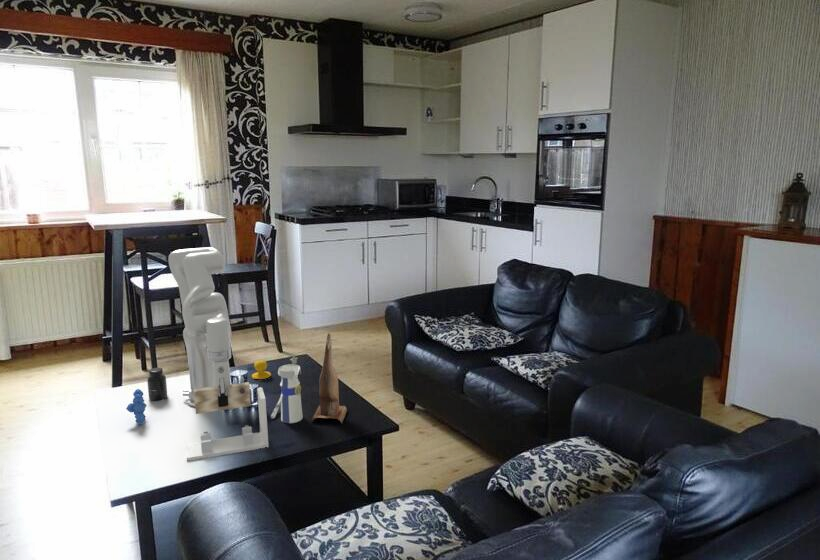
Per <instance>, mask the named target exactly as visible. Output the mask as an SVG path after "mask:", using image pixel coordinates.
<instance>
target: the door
mask: <svg viewBox="0 0 820 560" xmlns="http://www.w3.org/2000/svg"><path fill="white" fill-rule="evenodd" d="M219 387H220V386H219ZM226 387H227V386H226ZM226 389H227V394H228V406H224V407H219V405H218V396H219V395H218V389H216V386H214V387H206V388H199V389H194V396H195V407H194V408H195V414H196V415H197V414H203V413H204V414H205V413H211V412H218V411H224V410H231V409H233V410H234V409H238V408H247V407H251V406H252V405H251V391H250V390H251V389H250V382H249V381H247V382H239V383H237V382H236V383H231V387H230V388H226ZM224 390H225V389H224ZM220 391H221V390H220Z"/></svg>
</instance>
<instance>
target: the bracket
mask: <svg viewBox="0 0 820 560" xmlns="http://www.w3.org/2000/svg"><path fill="white" fill-rule="evenodd" d="M280 409H281V396H280V397H279V399H278V401H277V403H276V404H275V408H274V409H273V411H272V413H271V414H270V418H271V420H273V419H275V418H276V416H277V413H278V412H279V410H280Z"/></svg>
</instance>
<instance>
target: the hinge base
mask: <svg viewBox="0 0 820 560" xmlns="http://www.w3.org/2000/svg"><path fill="white" fill-rule="evenodd" d="M256 390H257V391H256V392H257V393H256V394H257V403H258V404H257V406H258V418H259V419H258V420H259V432H253V428H252V426H249V424H246V425H243V426H244V427H242V428H241V435H236V436H235V435H234V436H230V437H229V436H228V437H223V438H217V439H216V438H215V439H212V436H211V432H208V431H203V433H200V441H198V442H192V443H191V442H190V443H187V444H186V461H187V460H190V461H194V460H193V459H196V460H200V459H199V458H202V459H207V458H206V457H208V458H213V456H214V457H218V456H225V455H230V454H238V453H241V452H242V453H243V452H249V451H254V450H258V449H259V450H260V448H261V449H266V448H265V447H267V448H270V447H269V445H270V444H269V433H268V418H267V402H266V396H265V393H264V389H263V387H262V386H261V387H257V388H256Z"/></svg>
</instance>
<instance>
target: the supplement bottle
mask: <svg viewBox="0 0 820 560" xmlns="http://www.w3.org/2000/svg"><path fill="white" fill-rule="evenodd" d="M148 374H149V376H148V377H147V379H146V380H147V393H148V399H149V401H151V402H159V401H163V400H166V399H167V398H168V388H167V387H168V385H167V377H166V375H165V374H164V372H163V368H162V367H154V368H153V367H152V368H150V369H149V373H148Z"/></svg>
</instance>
